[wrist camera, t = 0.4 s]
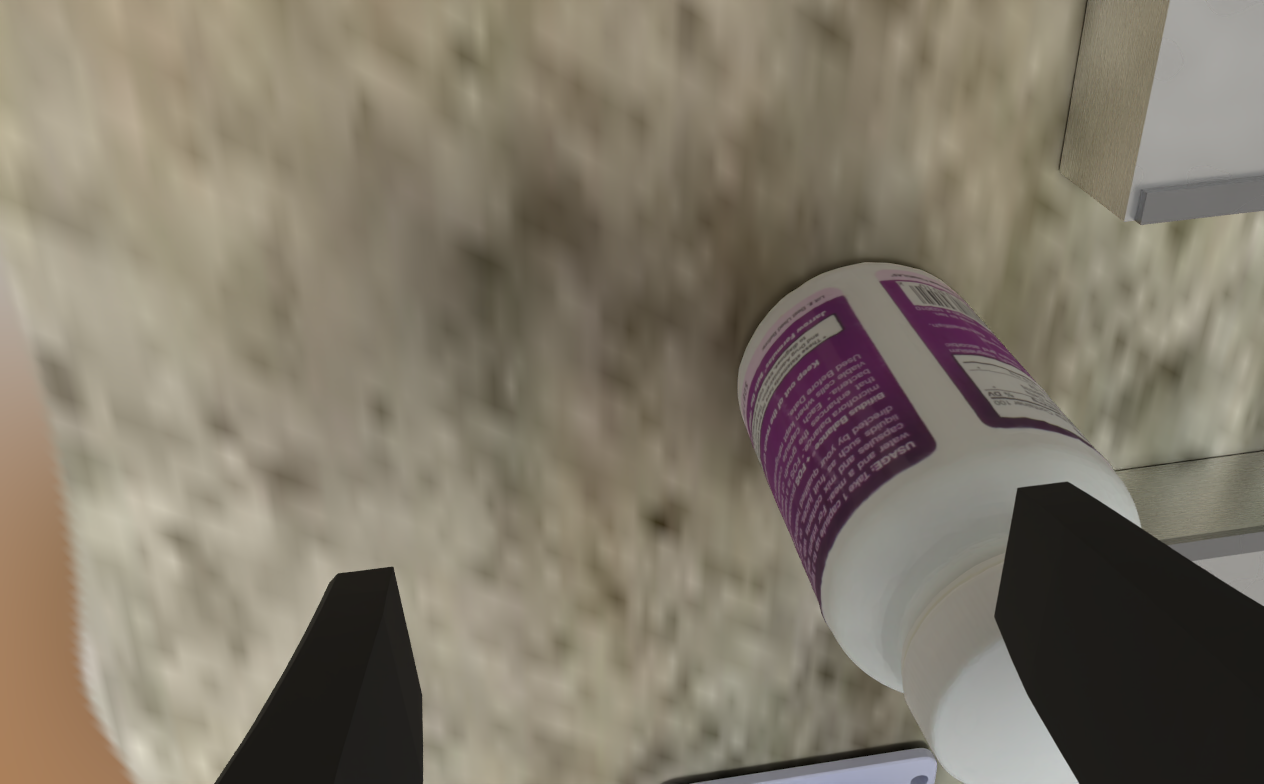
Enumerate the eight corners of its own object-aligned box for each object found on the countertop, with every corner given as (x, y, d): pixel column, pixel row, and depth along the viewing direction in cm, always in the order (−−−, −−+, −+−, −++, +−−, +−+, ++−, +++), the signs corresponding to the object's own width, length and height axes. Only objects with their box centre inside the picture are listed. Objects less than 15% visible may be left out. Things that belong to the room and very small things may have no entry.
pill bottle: (768, 494, 25) (917, 869, 17) (701, 309, 22) (842, 654, 14) (990, 414, 25) (1249, 758, 17) (952, 214, 22) (1245, 515, 14)
